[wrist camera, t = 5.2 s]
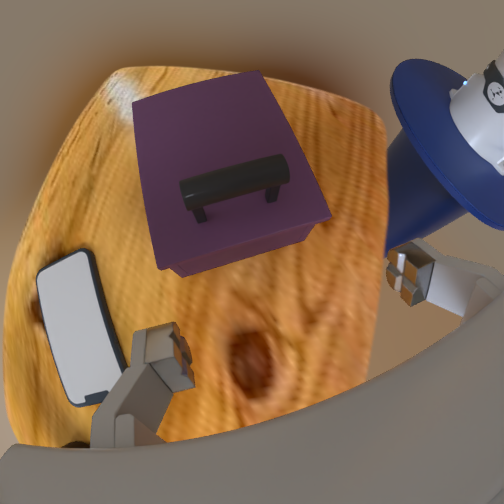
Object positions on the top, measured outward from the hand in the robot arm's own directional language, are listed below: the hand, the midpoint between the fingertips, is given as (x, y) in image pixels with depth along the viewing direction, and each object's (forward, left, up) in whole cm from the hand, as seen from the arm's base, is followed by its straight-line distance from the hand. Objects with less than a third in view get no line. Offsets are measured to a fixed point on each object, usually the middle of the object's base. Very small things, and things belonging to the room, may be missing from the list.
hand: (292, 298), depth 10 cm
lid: (0, -13, -9) cm, 16 cm away
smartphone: (+19, -3, -17) cm, 26 cm away
